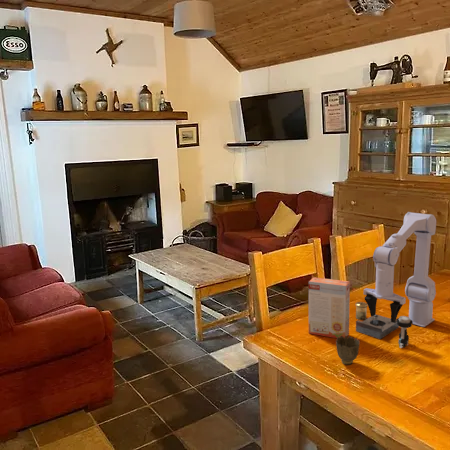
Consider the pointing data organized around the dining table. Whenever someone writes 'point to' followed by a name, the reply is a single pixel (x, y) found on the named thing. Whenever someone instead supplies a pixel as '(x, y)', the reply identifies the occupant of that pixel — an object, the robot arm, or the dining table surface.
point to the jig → (376, 326)
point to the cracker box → (329, 307)
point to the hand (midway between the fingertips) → (383, 318)
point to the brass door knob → (361, 310)
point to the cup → (347, 349)
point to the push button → (403, 330)
